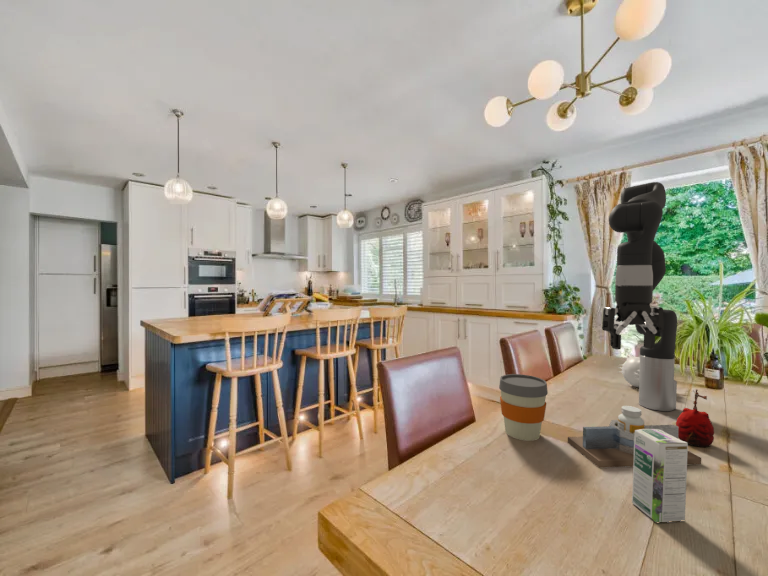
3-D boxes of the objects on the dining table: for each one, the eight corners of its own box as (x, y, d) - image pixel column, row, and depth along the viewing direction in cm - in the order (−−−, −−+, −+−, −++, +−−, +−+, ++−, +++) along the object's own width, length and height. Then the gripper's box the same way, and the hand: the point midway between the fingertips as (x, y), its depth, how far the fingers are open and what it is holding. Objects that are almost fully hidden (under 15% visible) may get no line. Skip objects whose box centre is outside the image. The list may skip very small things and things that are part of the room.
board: (656, 439, 92) (657, 434, 92) (701, 464, 80) (701, 457, 80) (567, 442, 90) (567, 436, 90) (599, 467, 78) (599, 461, 78)
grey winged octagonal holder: (660, 437, 90) (661, 418, 90) (692, 454, 81) (692, 433, 81) (573, 439, 88) (573, 420, 88) (596, 457, 80) (596, 436, 80)
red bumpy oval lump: (713, 443, 90) (715, 387, 90) (714, 452, 85) (715, 393, 85) (675, 434, 95) (677, 381, 95) (674, 442, 90) (675, 386, 90)
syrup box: (630, 502, 66) (632, 428, 65) (658, 501, 66) (660, 427, 66) (656, 524, 60) (658, 443, 60) (687, 522, 60) (689, 441, 60)
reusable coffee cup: (546, 428, 98) (547, 377, 98) (547, 447, 87) (548, 389, 87) (501, 420, 104) (501, 371, 103) (496, 438, 92) (496, 383, 92)
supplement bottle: (614, 445, 85) (614, 407, 85) (621, 439, 89) (621, 402, 88) (640, 454, 81) (641, 414, 81) (646, 447, 84) (647, 409, 84)
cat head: (673, 393, 129) (673, 361, 129) (638, 393, 129) (638, 361, 129) (643, 381, 144) (644, 353, 144) (612, 381, 144) (612, 352, 144)
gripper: (647, 283, 89) (646, 345, 89) (595, 283, 88) (594, 346, 88) (674, 284, 81) (672, 351, 82) (617, 284, 80) (616, 352, 81)
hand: (632, 348), depth 85 cm, fingers open, 8 cm apart
